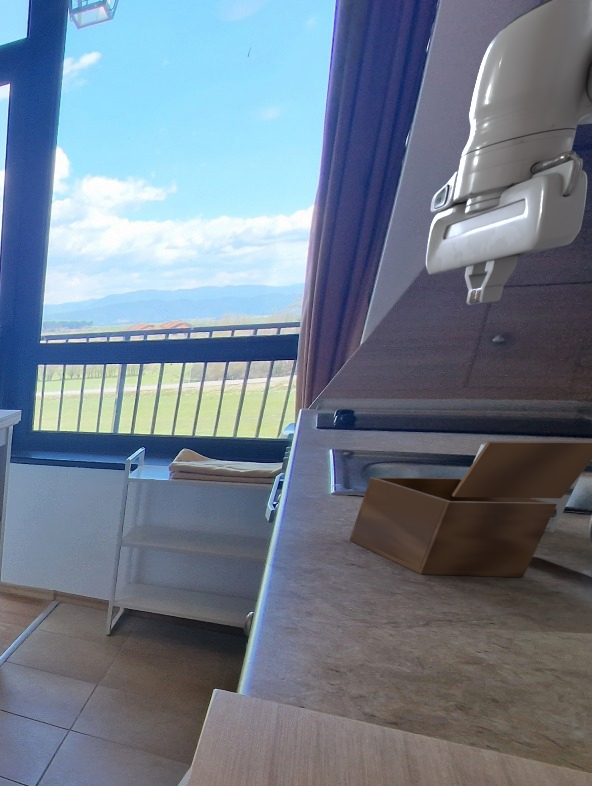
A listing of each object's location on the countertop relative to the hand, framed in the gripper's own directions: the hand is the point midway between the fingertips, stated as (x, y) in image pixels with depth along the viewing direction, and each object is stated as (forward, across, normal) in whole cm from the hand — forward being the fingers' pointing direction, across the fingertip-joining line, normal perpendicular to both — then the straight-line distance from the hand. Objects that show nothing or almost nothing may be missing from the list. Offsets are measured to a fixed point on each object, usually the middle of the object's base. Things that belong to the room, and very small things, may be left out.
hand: (482, 303), depth 77 cm
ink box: (+30, 0, -6) cm, 30 cm away
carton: (+29, -12, +6) cm, 32 cm away
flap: (+17, -20, +4) cm, 27 cm away
